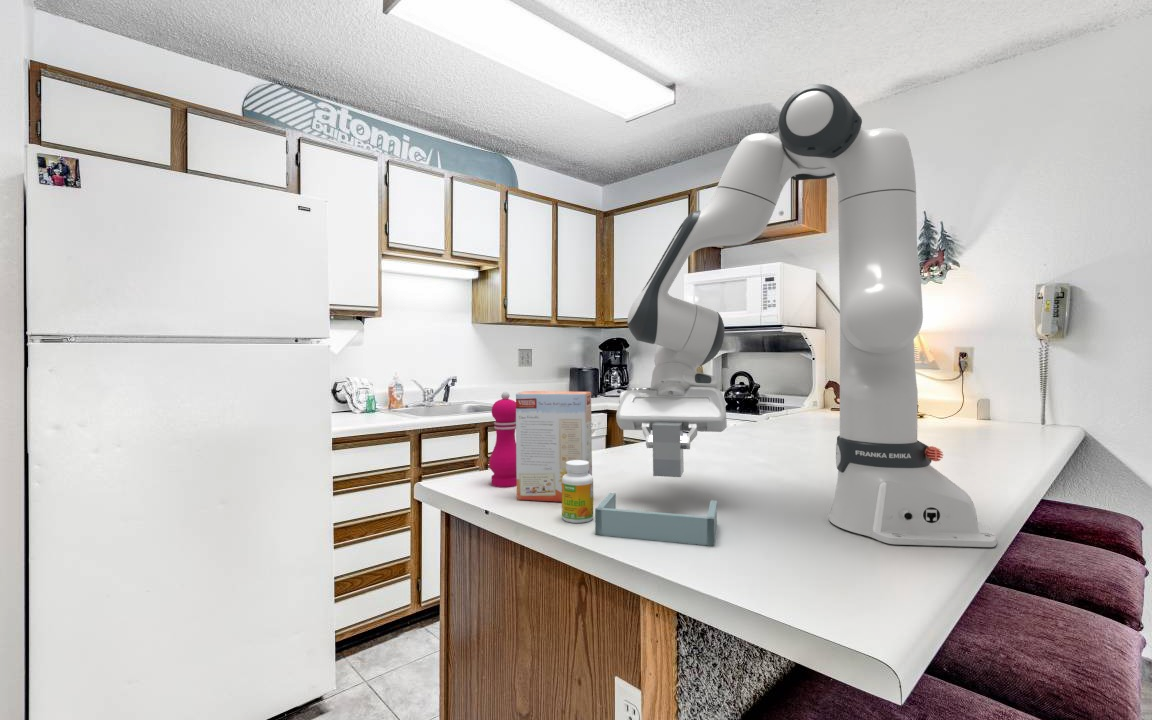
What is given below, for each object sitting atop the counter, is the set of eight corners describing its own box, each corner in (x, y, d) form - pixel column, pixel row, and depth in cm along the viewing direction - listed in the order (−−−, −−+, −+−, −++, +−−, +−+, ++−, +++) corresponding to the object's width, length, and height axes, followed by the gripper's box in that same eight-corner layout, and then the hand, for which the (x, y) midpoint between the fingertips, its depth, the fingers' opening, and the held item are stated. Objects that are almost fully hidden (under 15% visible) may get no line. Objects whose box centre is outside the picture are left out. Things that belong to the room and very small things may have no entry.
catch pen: (716, 525, 88) (716, 500, 88) (714, 546, 79) (714, 519, 79) (610, 515, 94) (610, 492, 94) (595, 534, 84) (595, 509, 84)
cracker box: (593, 496, 106) (592, 390, 106) (586, 504, 101) (586, 393, 100) (525, 492, 110) (524, 389, 109) (515, 500, 104) (514, 392, 103)
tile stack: (683, 471, 98) (682, 422, 98) (680, 477, 93) (679, 425, 93) (657, 470, 99) (656, 421, 99) (653, 475, 95) (652, 425, 95)
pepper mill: (520, 488, 113) (519, 393, 113) (486, 487, 113) (485, 393, 113) (524, 479, 120) (523, 390, 120) (492, 479, 121) (491, 390, 120)
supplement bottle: (559, 522, 90) (558, 465, 90) (565, 513, 95) (564, 458, 95) (591, 524, 89) (590, 466, 89) (595, 514, 94) (595, 459, 94)
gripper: (618, 377, 106) (607, 434, 97) (726, 377, 100) (725, 437, 91) (623, 398, 110) (613, 455, 101) (727, 399, 104) (726, 459, 95)
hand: (667, 446), depth 96 cm, fingers closed on tile stack, 5 cm apart
